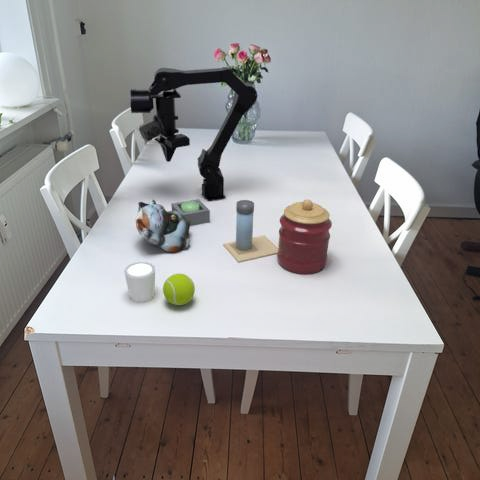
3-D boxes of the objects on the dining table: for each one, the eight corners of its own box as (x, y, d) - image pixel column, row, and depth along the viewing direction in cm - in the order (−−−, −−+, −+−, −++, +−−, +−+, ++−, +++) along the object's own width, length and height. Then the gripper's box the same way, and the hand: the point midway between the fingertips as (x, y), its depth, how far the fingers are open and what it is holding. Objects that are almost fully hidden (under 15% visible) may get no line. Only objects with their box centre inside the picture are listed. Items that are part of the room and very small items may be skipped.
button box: (199, 210, 148) (198, 199, 146) (209, 222, 140) (209, 210, 138) (172, 215, 144) (171, 203, 142) (181, 227, 137) (181, 215, 135)
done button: (195, 211, 145) (195, 199, 143) (202, 218, 141) (201, 206, 139) (179, 214, 143) (178, 202, 141) (185, 221, 139) (184, 209, 137)
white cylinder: (128, 286, 110) (126, 261, 106) (158, 286, 110) (156, 261, 107) (125, 304, 104) (122, 278, 100) (156, 303, 104) (154, 277, 101)
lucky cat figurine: (188, 256, 123) (160, 219, 114) (149, 266, 127) (120, 231, 118) (195, 217, 133) (171, 181, 124) (160, 228, 137) (134, 193, 128)
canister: (314, 280, 114) (321, 216, 105) (267, 265, 120) (271, 202, 111) (334, 258, 124) (342, 197, 115) (290, 244, 130) (295, 185, 121)
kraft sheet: (264, 236, 133) (264, 234, 133) (281, 252, 125) (281, 251, 125) (222, 245, 128) (222, 243, 128) (238, 262, 120) (238, 261, 120)
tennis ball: (173, 315, 101) (172, 288, 97) (158, 299, 106) (156, 273, 102) (200, 304, 104) (200, 278, 101) (185, 289, 109) (184, 264, 106)
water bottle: (246, 241, 129) (247, 198, 123) (255, 248, 126) (257, 204, 120) (232, 245, 127) (233, 202, 121) (241, 252, 124) (242, 208, 118)
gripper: (128, 109, 144) (132, 157, 151) (155, 122, 131) (159, 175, 138) (160, 105, 150) (163, 152, 157) (189, 117, 136) (191, 168, 144)
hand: (168, 161), depth 149 cm, fingers closed
